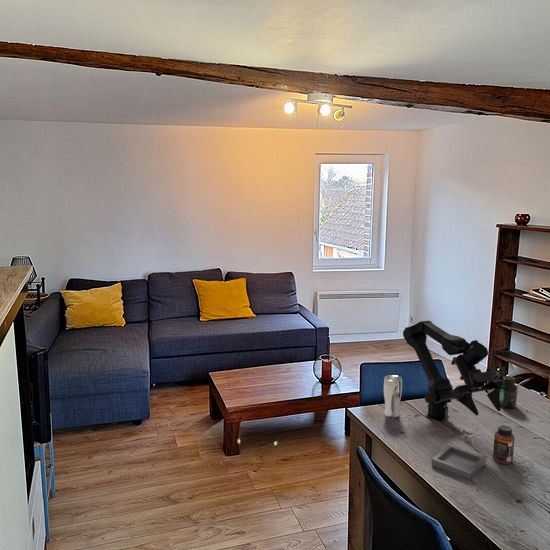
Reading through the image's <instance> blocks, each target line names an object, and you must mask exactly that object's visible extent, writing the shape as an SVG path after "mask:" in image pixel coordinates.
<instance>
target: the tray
mask: <svg viewBox="0 0 550 550" xmlns="http://www.w3.org/2000/svg"><path fill="white" fill-rule="evenodd" d="M486 465H487V457H485V456H483V455H479V454H478V453H477V454H476V453H473V452H471V451H468V450H465V449H463V448H460V447H458V446H454V445H451V444H448V445H447V446H446V447H445V448H443V449H442V450H441V451H439V452H438V453H437V454H436V455H435V456H433V457H432V458H431V467H433V468H435V467H436V468H435V469H438V470H441V471H443V472H446V473H448V474H450V475H453V476H455V477H458V478H461V479H463V480H466V481H469V482H470V481H472V480H473V479H474V478H475V477H476V476H477V475H478V474H479V473H480V472H481V471H482V470H483V468H485V466H486Z"/></svg>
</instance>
